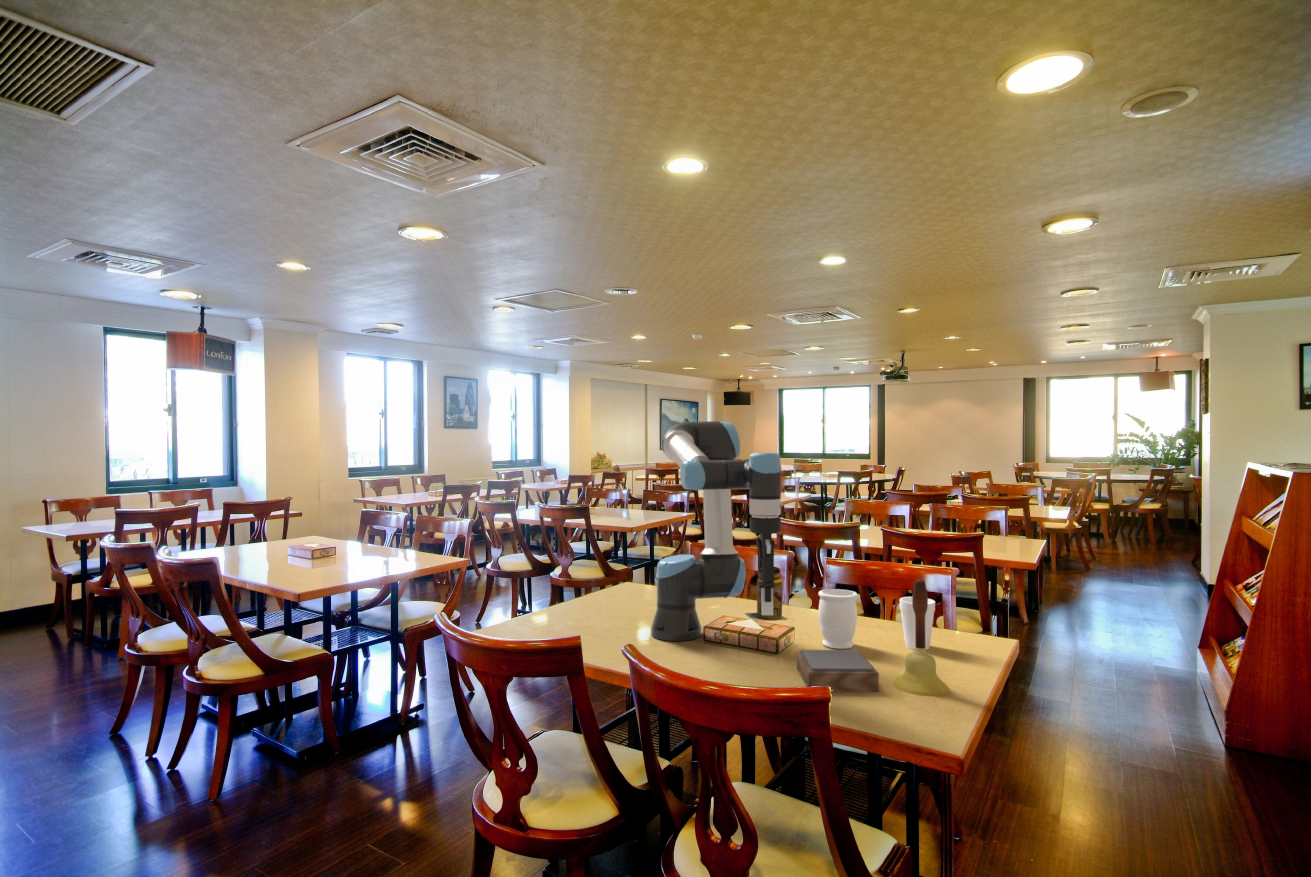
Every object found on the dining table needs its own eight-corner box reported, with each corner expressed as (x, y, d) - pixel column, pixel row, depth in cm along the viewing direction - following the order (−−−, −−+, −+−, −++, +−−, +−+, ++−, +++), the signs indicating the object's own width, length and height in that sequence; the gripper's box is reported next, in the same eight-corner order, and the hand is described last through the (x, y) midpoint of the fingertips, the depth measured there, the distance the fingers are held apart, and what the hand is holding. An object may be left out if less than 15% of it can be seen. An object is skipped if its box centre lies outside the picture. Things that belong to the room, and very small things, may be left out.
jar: (853, 640, 196) (853, 588, 196) (860, 651, 186) (860, 596, 186) (816, 639, 197) (815, 588, 197) (821, 650, 187) (821, 596, 187)
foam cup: (925, 653, 183) (924, 606, 183) (893, 646, 190) (893, 600, 190) (941, 646, 189) (941, 600, 189) (910, 639, 196) (910, 595, 196)
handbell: (950, 698, 151) (949, 587, 151) (892, 692, 155) (891, 583, 156) (947, 680, 163) (946, 577, 163) (893, 674, 167) (892, 573, 167)
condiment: (788, 620, 161) (788, 569, 161) (754, 622, 159) (754, 571, 159) (776, 612, 168) (776, 564, 168) (744, 614, 166) (743, 565, 166)
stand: (808, 691, 156) (808, 669, 156) (796, 668, 172) (796, 648, 172) (878, 691, 156) (878, 670, 156) (860, 668, 172) (860, 648, 172)
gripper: (786, 520, 154) (787, 621, 154) (775, 511, 173) (776, 601, 173) (753, 520, 154) (754, 621, 154) (746, 511, 173) (746, 601, 173)
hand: (765, 611), depth 164 cm, fingers closed on condiment, 6 cm apart
